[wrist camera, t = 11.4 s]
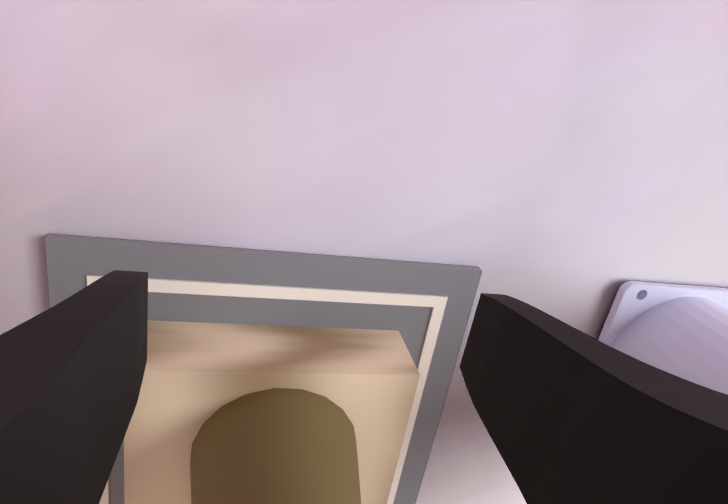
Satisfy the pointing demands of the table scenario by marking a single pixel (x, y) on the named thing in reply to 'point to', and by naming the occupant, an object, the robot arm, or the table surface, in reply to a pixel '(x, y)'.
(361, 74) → the table surface
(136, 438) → the birch block
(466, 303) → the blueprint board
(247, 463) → the cork
